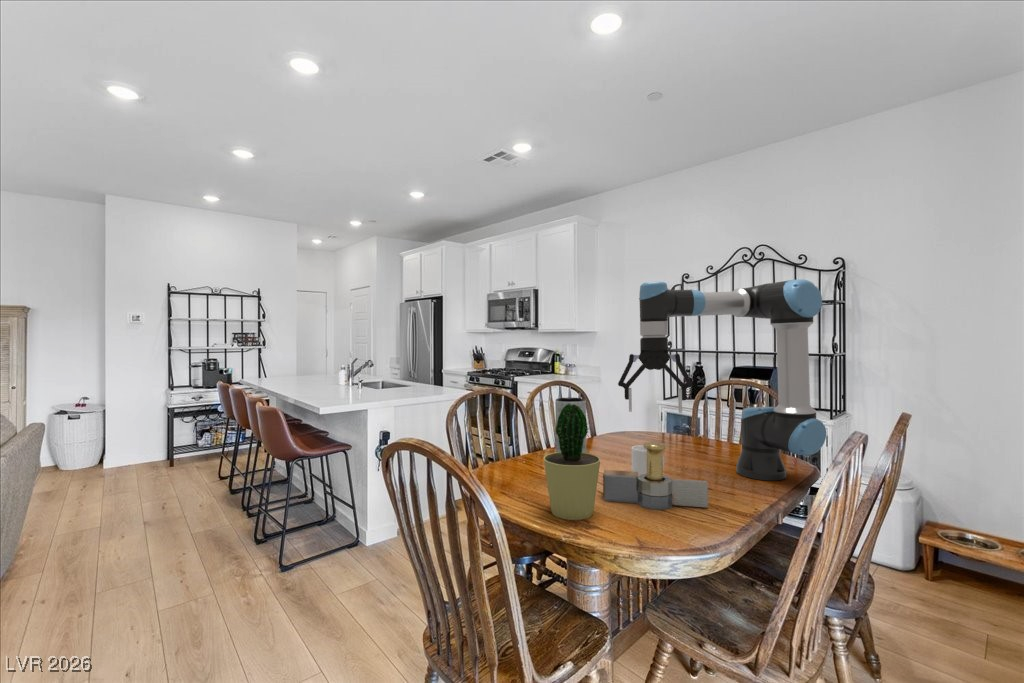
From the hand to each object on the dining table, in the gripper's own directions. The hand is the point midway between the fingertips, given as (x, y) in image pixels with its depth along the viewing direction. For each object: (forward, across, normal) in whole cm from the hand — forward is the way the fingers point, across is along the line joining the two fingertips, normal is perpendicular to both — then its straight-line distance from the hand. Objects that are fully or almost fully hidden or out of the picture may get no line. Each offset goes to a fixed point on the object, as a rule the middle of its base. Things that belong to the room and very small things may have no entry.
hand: (655, 411), depth 136 cm
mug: (+27, +2, -25) cm, 36 cm away
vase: (+26, +26, -16) cm, 41 cm away
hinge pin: (+26, 0, 0) cm, 26 cm away
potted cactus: (+26, +22, +12) cm, 37 cm away
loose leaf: (+26, -4, 0) cm, 26 cm away
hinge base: (+26, +5, 0) cm, 27 cm away
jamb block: (+26, +10, -3) cm, 28 cm away
